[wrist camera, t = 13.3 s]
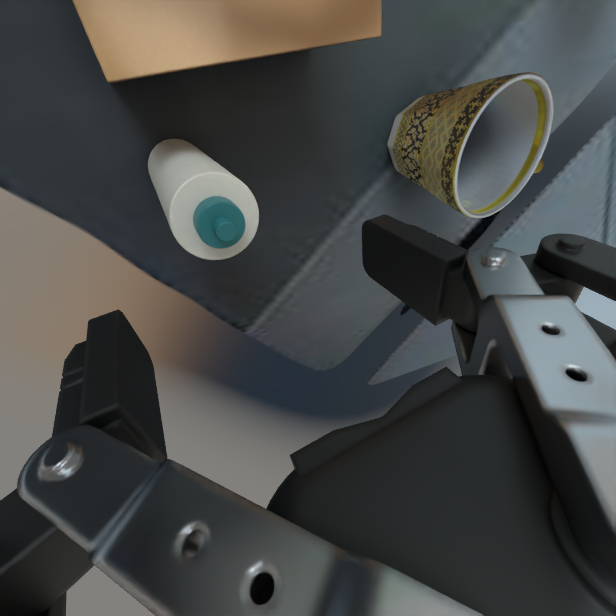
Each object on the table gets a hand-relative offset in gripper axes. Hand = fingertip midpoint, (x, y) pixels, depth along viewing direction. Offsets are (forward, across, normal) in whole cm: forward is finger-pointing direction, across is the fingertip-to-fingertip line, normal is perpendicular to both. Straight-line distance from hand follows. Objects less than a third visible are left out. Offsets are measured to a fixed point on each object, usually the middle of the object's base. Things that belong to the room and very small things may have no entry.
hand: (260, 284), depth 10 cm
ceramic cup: (+18, -24, +3) cm, 31 cm away
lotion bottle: (+18, 0, 0) cm, 19 cm away
